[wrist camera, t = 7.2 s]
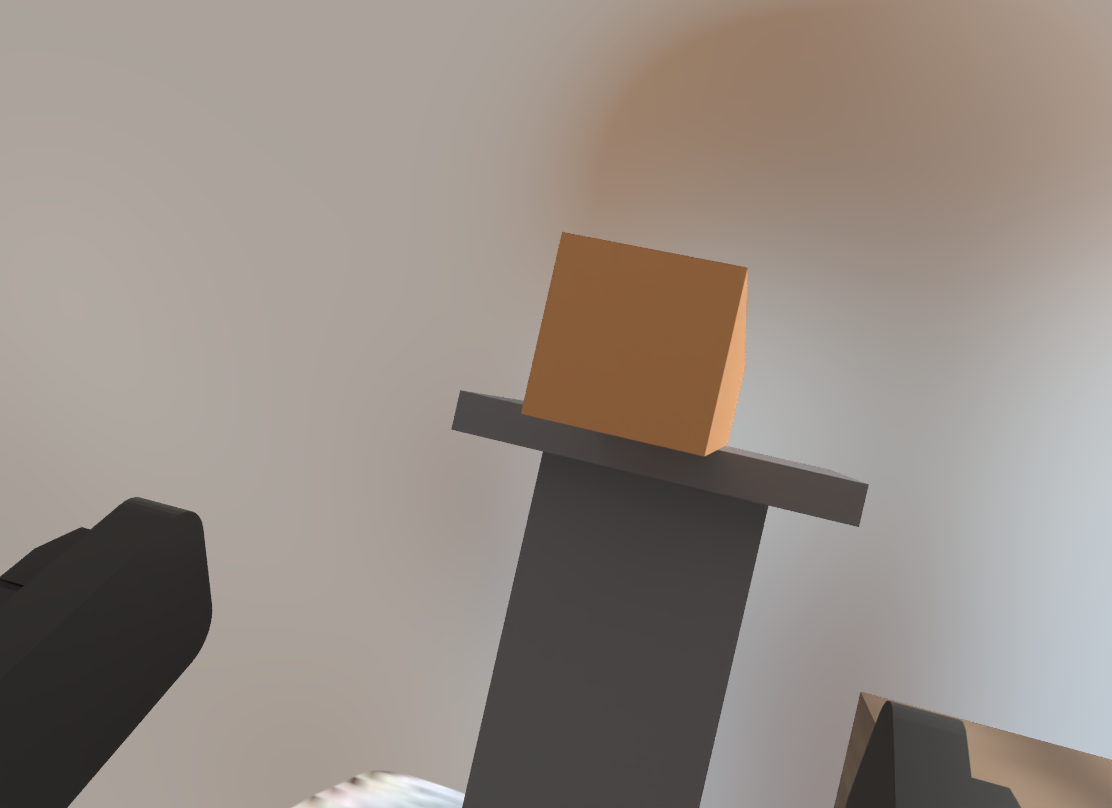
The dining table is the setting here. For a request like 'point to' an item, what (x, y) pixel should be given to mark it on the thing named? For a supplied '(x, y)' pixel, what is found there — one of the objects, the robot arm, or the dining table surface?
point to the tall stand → (624, 611)
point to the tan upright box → (1003, 764)
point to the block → (641, 345)
